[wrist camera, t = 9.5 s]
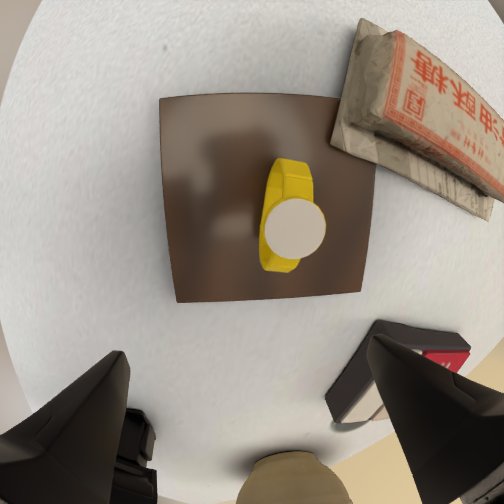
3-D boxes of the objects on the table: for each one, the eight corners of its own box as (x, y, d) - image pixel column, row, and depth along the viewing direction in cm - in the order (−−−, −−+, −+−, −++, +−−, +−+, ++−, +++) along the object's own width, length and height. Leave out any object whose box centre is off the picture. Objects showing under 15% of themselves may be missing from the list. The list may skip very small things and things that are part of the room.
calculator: (424, 414, 26) (335, 429, 22) (410, 393, 30) (322, 398, 26) (476, 350, 22) (400, 349, 19) (456, 330, 26) (376, 319, 22)
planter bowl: (249, 436, 28) (257, 512, 18) (355, 436, 31) (377, 495, 21) (219, 477, 34) (221, 531, 24) (306, 478, 37) (317, 525, 27)
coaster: (178, 297, 20) (176, 303, 19) (161, 100, 15) (158, 98, 14) (356, 287, 21) (360, 292, 20) (371, 105, 16) (376, 104, 15)
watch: (286, 251, 19) (309, 296, 13) (245, 246, 18) (252, 292, 13) (303, 161, 16) (339, 171, 11) (259, 154, 16) (276, 158, 11)
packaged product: (361, 150, 12) (390, -3, 8) (323, 147, 16) (352, 22, 13) (513, 234, 15) (532, 132, 12) (477, 218, 20) (496, 126, 16)
